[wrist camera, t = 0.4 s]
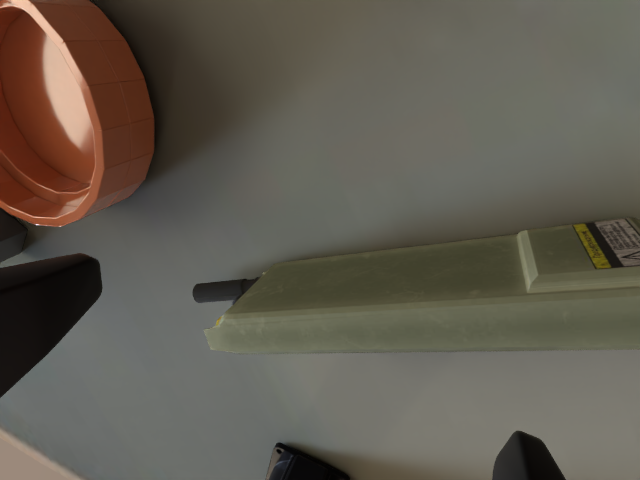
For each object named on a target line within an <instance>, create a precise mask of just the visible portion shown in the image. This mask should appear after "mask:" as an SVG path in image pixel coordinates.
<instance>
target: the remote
mask: <svg viewBox="0 0 640 480" xmlns="http://www.w3.org/2000/svg"><path fill="white" fill-rule="evenodd" d="M26 233H27V229H26V228H25V227H23V226H22V225H21V224H20V223H19V222H17V221H16V220H15V219H14V218H13V217H12V216H10V215H9V214H8V213H7V212H6V211H4V210H3V209H2V208H1V207H0V262H2V261H4V260H6V259H8V258H10V257H13V256H15V255H17V254H19V253H21V251H22V247H23V244H24V240H25V237H26Z"/></svg>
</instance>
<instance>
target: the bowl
mask: <svg viewBox="0 0 640 480" xmlns="http://www.w3.org/2000/svg"><path fill="white" fill-rule="evenodd" d="M144 79H145V78H144V76H143V74H142V72H141V70H140V68H139V66H138V64H137V62H136V60H135V58H134V56H133V54H132V52H131V50H130V48H129V46H128V43H127V41H125V39H124V37H123V36H122V35H121V34H120V33H119V31H118V30H117V29H116V28H115V27H114V25H113V24H112V23H111V22H110V20H109V19H108V18H107V17H106V16H105V14H104V13H103V12H102V11H101V9H100V8H99V7H97V6H96V5H95V4H93V3H92V2H90V1H89V0H0V207H1V208H2V209H4V210H5V211H6V212H8V213H10V214H11V215H13V216H16V217H18V218H20V219H23V220H25V221H27V222H30V223H32V224H35V225H43V226H56V227H61V226H64V225H67V224H69V223H72V222H74V221H77V220H79V219H82V218H84V217H86V216H88V215H91V214H93V213H95V212H97V211H99V210H102V209H104V208H106V207H108V206H110V205H113V204H115V203H117V202H119V201H121V200H124V199H126V198H128V197H130V196H131V195H132V194H133V192H134V191H135V190H136V189H137V188H138V187H139V186H140V184H141V183H142V182H143V181H144V180H145V178H146V175H147V172H148V169H149V166H150V163H151V160H152V157H153V154H154V118H153V117H154V114H153V110H152V106H151V102H150V98H149V94H148V90H147V86H146V82H145V80H144Z"/></svg>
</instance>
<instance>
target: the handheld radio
mask: <svg viewBox="0 0 640 480" xmlns="http://www.w3.org/2000/svg"><path fill="white" fill-rule="evenodd" d="M262 275H263V276H262V277H257V278H255V279H251V280H247V279H240V280H230V281H220V282H210V283H200V284H196V285H195V286H194V289H193V297H194V300H195V301H196V302H198V303H203V302H215V301H228V300H234V301H233V306H232V307H231V308H230V309H228V310H227V311H226V312H225V314H224V315H223V316H221V317H220V318H219V319H218V320H217V323H216V326H214V327H212V328H208V329H204V332H205V335H206V338H207V341H208V344H209V346H210V349H211V350H219V351H228V352H231V353H236V354H299V353H381V352H462V351H544V350H625V349H640V220H637V219H636V218H631V217H627V218H619V219H610V220H602V221H594V222H586V223H578V224H570V225H561V226H553V227H545V228H537V229H529V230H524V231H521V232H519V234H514V235H506V236H497V237H489V238H481V239H472V240H464V241H456V242H447V243H439V244H431V245H422V246H414V247H406V248H397V249H389V250H381V251H372V252H364V253H356V254H347V255H339V256H331V257H322V258H314V259H306V260H297V261H289V262H281V263H276V264H274V265H273V266H272V267H271V268H270V269H269V270H268V271H265V272H262Z"/></svg>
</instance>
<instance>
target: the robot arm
mask: <svg viewBox="0 0 640 480" xmlns="http://www.w3.org/2000/svg"><path fill="white" fill-rule="evenodd" d="M101 293H102V280H101V271H100V264H99V262H98V260H97V259H95V258H93V257H90V256H88V255H85V254H82V253H77V254H71V255H66V256H61V257H56V258H51V259H45V260H40V261H35V262H30V263H25V264H19V265H14V266H9V267H4V268H0V398H1V397H2V396H3V395H4V394H5V393H6V392H7V391H8V390H9V389H10V388H11V387H13V386H14V385H15V384H16V383H17V382H18V381H19V380H20V379H21V378H22V377H23V376H24V375H26V374H27V373H28V372H29V371H30V370H31V369H32V368H33V367H34V366H35V365H36V364H37V363H39V362H40V361H41V360H42V359H43V358H44V357H45V356H46V355H47V354H48V353H49V352H50V351H51V350H52V349H53V348H54V347H55V346H56V345H57V344H58V343H59V342H60V340H61V339H62V338H63V337H64V336H65V335H66V334H67V333H68V332H69V330H70V329H71V328H72V327H73V326H74V325H75V324H76V323H77V322H78V321H79V319H80V318H81V317H82V316H83V315H84V314H85V313H86V312H87V311H88V310H89V308H90V307H91V306H92V305H93V304H94V303H95V302H96V301H97V300H98V298H99V297H100V295H101ZM266 480H350V478H349V477H348V476H347V475H346V474H344V473H342V472H340V471H338V470H336V469H333V468H331V467H329V466H327V465H325V464H323V463H321V462H319V461H317V460H315V459H313V458H311V457H309V456H307V455H305V454H302V453H300V452H298V451H296V450H294V449H292V448H290V447H288V446H286V445H284V444H282V443H276V445H275V447H274V449H273V453H272V457H271V461H270V465H269V469H268V472H267V476H266ZM492 480H566V479H565V477H564V476H563V474H562V472H561V471H560V469H559V467H558V466H557V464H556V462H555V461H554V459H553V457H552V456H551V454H550V452H549V450H548V449H547V447H546V445H545V444H544V443H543V442H542V440H540V439H539V438H537V437H534V436H532V435H529V434H527V433H524V432H522V431H516V432H514V433H513V434H512V436H511V437H510V438H509V440H508V441H507V443H506V444H505V446H504V447H503V449H502V450H501V451H500V453H499V454H498V456H497V458H496V461H495V464H494V469H493V478H492Z"/></svg>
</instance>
